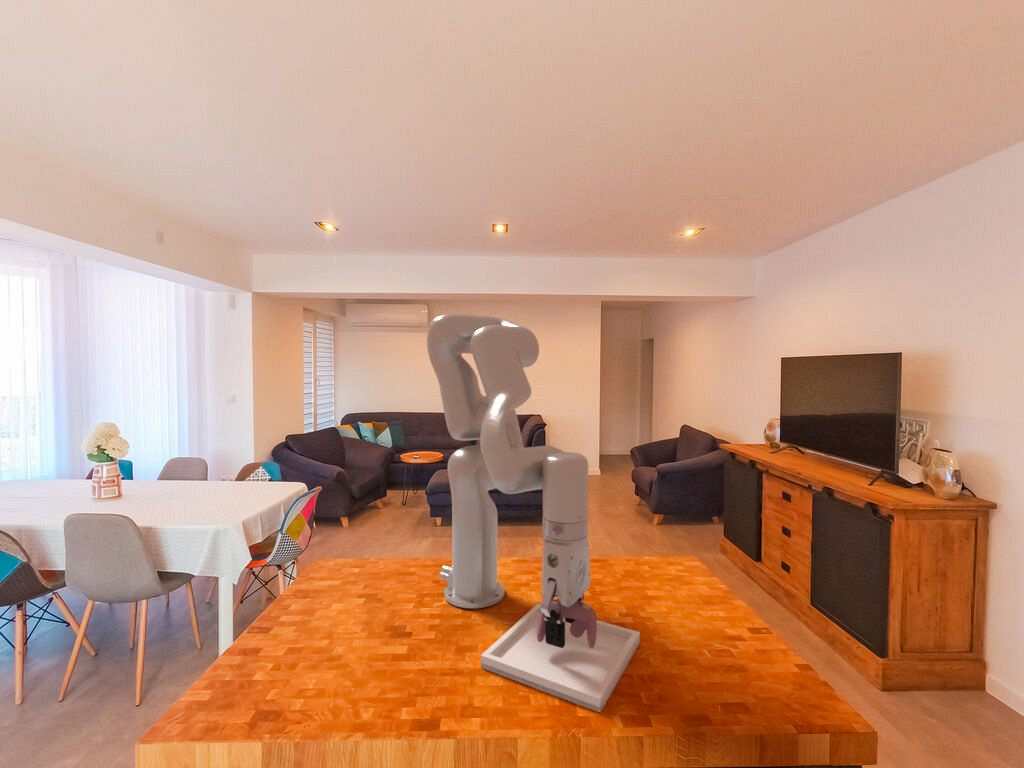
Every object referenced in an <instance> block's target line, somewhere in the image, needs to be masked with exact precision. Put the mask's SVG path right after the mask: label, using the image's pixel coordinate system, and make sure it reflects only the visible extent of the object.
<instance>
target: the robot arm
mask: <svg viewBox="0 0 1024 768" xmlns="http://www.w3.org/2000/svg"><path fill="white" fill-rule="evenodd" d="M426 335H427V336H426V347H427V354H428V358H429V361H430V363H431V366H432V368H433V371H434V373H435V375H436V379H437V381H438V384H439V385H438V386H439V391H440V396H441V401H442V402H441V403H442V407H443V413H444V419H445V422H446V428H447V431H448V433H449V435H450V436H451V438H452V439H454V440H457V441H461V442H462V441H463V442H464V441H477V440H478V441H479V440H480V441H479V444H475V445H474V444H473V445H468V446H463V447H461V448H458V449H456V450H455V451H454V452H453V453H452V454H451V455H450V457H449V458H448V461H447V476H448V477H447V478H448V480H449V481H448V482H449V487H450V494H451V495H450V496H451V511H452V514H451V517H452V518H451V519H452V520H451V524H452V525H451V533H452V535H451V537H452V538H451V539H452V540H451V542H452V546H451V549H452V550H451V552H452V553H451V556H452V557H451V566H450V565H443V566H442V567H441V570H440V572H439V574H438V578H439V579H441V580H444V581H445V580H446V581H447V586H445V589H444V598H445V600H446V601H447V602H448V603H449V604H451V605H453V606H454V607H457V608H462V609H463V608H464V609H484V608H487V607H488V608H489V607H491V606H495V605H496V604H498V603H499V602H500V601H502V600H503V598H504V597H505V587H504V585H503V583H501V582H499V581H498V526H499V525H498V522H499V521H498V509H497V506H496V504H495V502H494V501H493V499H492V497H491V496H490V494H489V491H490V490H495V489H497V490H498V491H499V492H500V493H503V494H506V495H514V494H515V495H516V494H520V493H526V492H531V491H537V490H542V537H543V539H544V546H543V556H542V565H541V566H542V568H541V595H542V599H541V603H540V604H541V605H540V609H541V611H542V612H543V615H544V620H546V628H545V641H546V643H547V644H550V645H553V646H557V647H560V648H563V647H564V646H565V622H563V616H564V610H565V606H566V607H570V606H572V605H573V604H574V603H575V602H576V601H580V602H582V603H584V602H583V601H584V599H585V593H586V592H587V591H588V589H589V587H590V585H591V566H590V565H591V563H590V561H591V560H590V547H589V540H588V539H589V461H588V458H586V456H584V455H583V454H582V453H579V452H578V453H577V452H570V451H569V452H568V451H567V452H566V451H563V450H561V449H559V448H557V447H555V446H550V445H541V446H540V445H539V446H538V445H537V446H527V447H524V441H523V437H522V432H521V428H520V423H519V419H518V415H517V412H516V409H517V408H519V407H521V406H523V405H524V404H526V402H527V401H528V400H529V399H530V397H531V395H532V388H531V385H530V382H529V379H528V378H527V375H526V372H525V369H524V368H528V367H531V366H533V365H534V364H535V363H536V362H537V361H538V358H539V356H540V355H539V354H540V345H539V342H538V339H537V337H536V335H535V334H534V332H532V330H531V329H529V328H528V327H525V326H523V325H520V324H517V323H514V322H511V321H509V320H506V319H504V318H500V317H495V316H487V315H478V314H477V315H475V314H469V313H468V314H466V313H445V314H441V315H438V316H436V317H435V318H433V320H432V321H431V322H430V324H429V327H428V329H427V333H426ZM462 354H471V355H472V356H473V360H474V363H475V367H476V369H477V372H478V375H479V378H480V380H481V383H482V386H483V390H484V393H485V395H484V394H482V392H481V389H480V385H479V380H478V375H477V374H476V372H475V370H474V368H473V367H472V365H471V364H470V363H469V362H468V361H467V359H465V358H464V357H463V355H462ZM555 597H556V598H557V599H559V600H560V602H559V601H555V599H554V598H555ZM552 604H554V605H558V606H559V611H558V614H557V612H556V611H555V610H553V607H552ZM565 621H566V622H568V623H571V624H572V623H573V622H574V621H575V619H572V618H565Z"/></svg>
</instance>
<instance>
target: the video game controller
mask: <svg viewBox="0 0 1024 768" xmlns="http://www.w3.org/2000/svg"><path fill="white" fill-rule="evenodd" d="M554 600H555V601H559V602H560V600H559V598H555V599H554ZM582 602H583V601H581V602H580V601H576V602H575V603H574V604H573V605H572V606H570V607H566V606H565V610H564V616H563V618H572V619H575V621H574V622H573V623H572V624H571V626H570V633H571V634H572V635H573V636H574V637H576V638H578V637H581V636H582V635H583V633H584V631H585V630H587V640H588V645H589V648H591V649H592V648H593V647H594V645H595V642H596V632H597V622H596V620H597V614H596V611H595V610H594V609H593V607H592V606H590V605H588V604H586V603H585V602H583V603H582ZM552 607H553V610H555V611H556V612H557V614H558V611H559V606H558V605H554V604H552ZM545 628H546V620H544V615H543V612H542V611H541V609H540V613H539V616H538V622H537V640H538V642H542V641H543V639H544V637H545Z"/></svg>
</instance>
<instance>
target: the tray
mask: <svg viewBox="0 0 1024 768" xmlns="http://www.w3.org/2000/svg"><path fill="white" fill-rule="evenodd" d="M540 605H541V603H537V604H536V605H534V606H533V607H532V608H531V609H530V610H529V611H528V612H527V613H526V614H524V616H522V617H521V618H520V619H519V620H518V621H516V623H514V624H513V626H512V627H510V628H509V629H508V630H507V631H506V632H505V633H504V634H503V635H502V636H500V637H499V638H498V639H497V640H496V641H495V642H494V643H492V645H490V646H489V647H488V648H487V649H486V650H485V651H484V652H483V653H481V654H480V668H481V669H483V670H485V671H489V672H492V673H494V674H496V675H500V676H501V677H504V678H507V679H510V680H513V681H514V682H517V683H521V684H523V685H525V686H528V687H531V688H534V689H535V690H538V691H541V692H543V693H547V694H549V695H551V696H554V697H556V698H557V697H558V698H559V699H562V700H564V701H567V700H568V701H567V702H571V703H573V704H575V705H577V706H580V705H582V706H581V707H583V706H584V707H583V708H586V709H588V708H589V709H588V710H591V709H593V710H595V711H594V712H596V711H598V712H597V713H599V712H600V713H601V712H602V711H603V708H604V707H605V705H606V703H607V701H608V700H609V698H610V696H611V695H612V693H613V691H614V689H615V687H616V686H617V684H618V682H619V681H620V678H622V675H623V673H624V672H625V670H626V668H627V666H628V665H629V663H630V661H631V659H632V658H633V656H634V654H635V652H636V650H637V649H638V647H639V645H640V638H641V635H640V634H641V632H640V631H636V630H634V629H631V628H626V627H622V626H620V625H616V624H613V623H610V622H605V621H602V620H597V619H596V622H597V632H596V642H595V645H594V647H593V648H592V649H591V648H589V645H588V640H587V630H585V631H584V633H583V635H582V636H581V637H578V638H576V637H574V636H573V635H572V634H571V633H570V626H571V623H568V622H566V621H565V618H563V622H565V646H564V647H563V648H560V647H557V646H553V645H550V644H547V643H546V641H545V637H544V639H543V641H542V642H538V640H537V622H538V616H539V613H540ZM593 710H592V711H593ZM601 710H602V711H601Z"/></svg>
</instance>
